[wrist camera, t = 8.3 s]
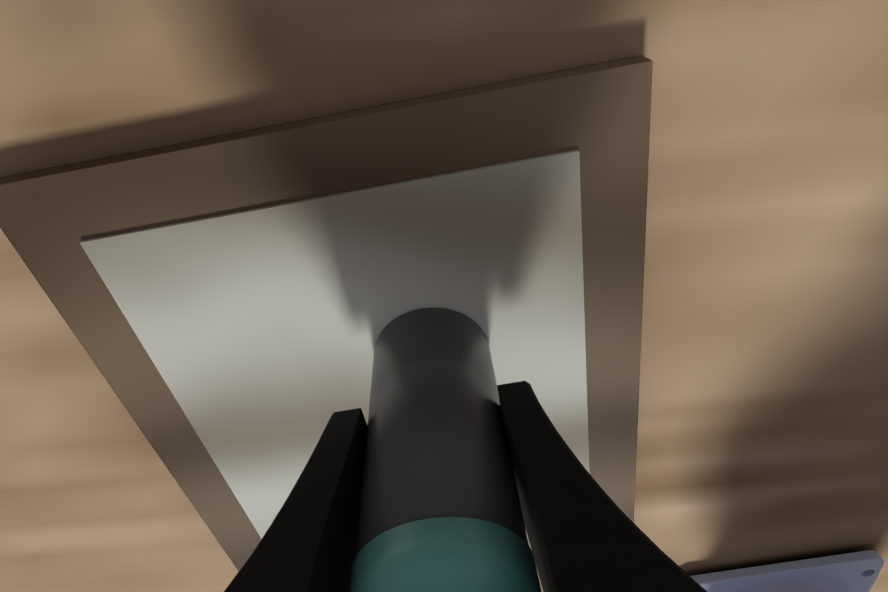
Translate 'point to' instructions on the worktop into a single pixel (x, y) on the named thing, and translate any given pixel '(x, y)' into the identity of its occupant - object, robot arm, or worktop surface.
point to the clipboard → (355, 272)
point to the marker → (438, 467)
